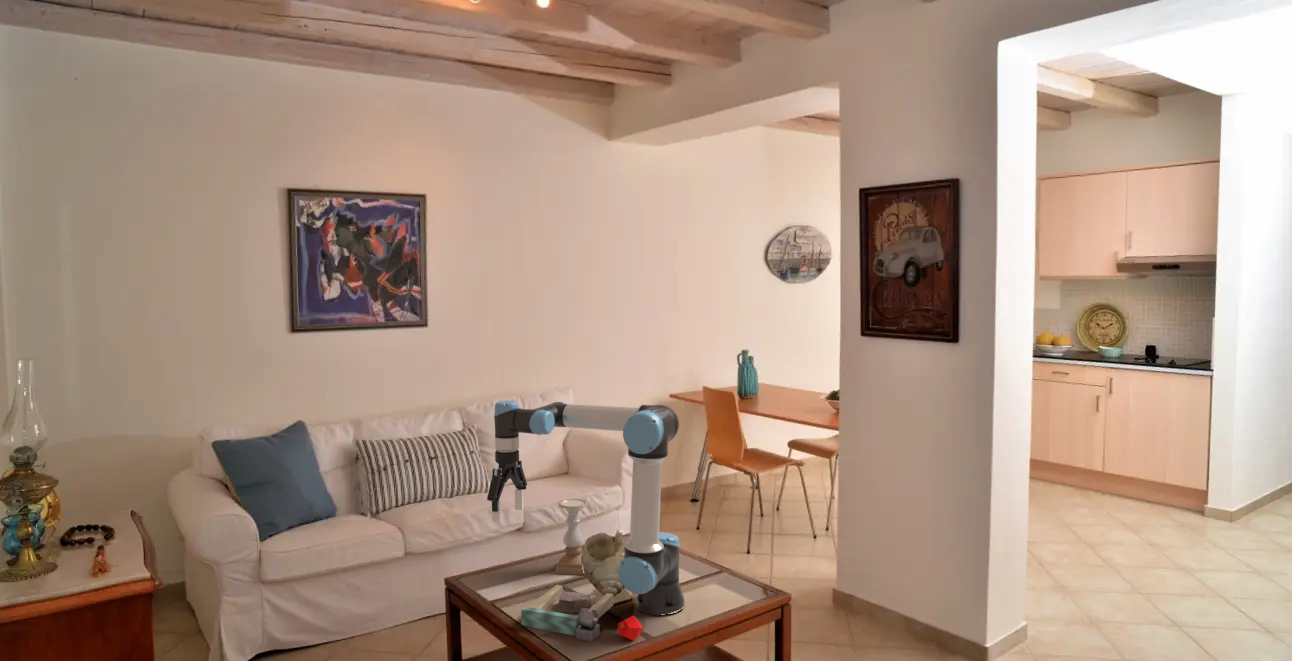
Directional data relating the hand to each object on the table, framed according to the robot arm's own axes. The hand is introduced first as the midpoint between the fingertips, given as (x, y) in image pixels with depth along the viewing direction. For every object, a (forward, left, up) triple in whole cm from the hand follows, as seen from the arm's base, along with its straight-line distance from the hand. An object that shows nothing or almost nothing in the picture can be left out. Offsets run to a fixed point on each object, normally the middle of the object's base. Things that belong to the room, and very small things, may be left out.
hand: (508, 515), depth 265 cm
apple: (-47, +11, -27) cm, 56 cm away
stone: (-24, -1, -28) cm, 36 cm away
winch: (-36, +15, -27) cm, 48 cm away
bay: (-23, +4, -27) cm, 36 cm away
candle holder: (-7, -31, -27) cm, 42 cm away
